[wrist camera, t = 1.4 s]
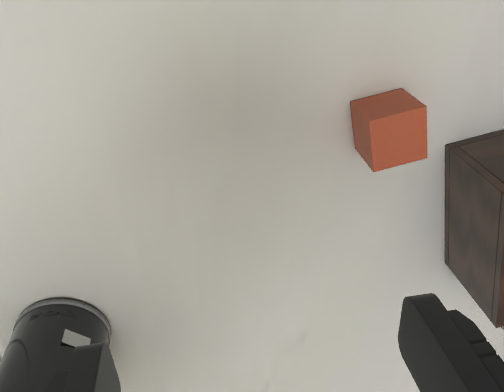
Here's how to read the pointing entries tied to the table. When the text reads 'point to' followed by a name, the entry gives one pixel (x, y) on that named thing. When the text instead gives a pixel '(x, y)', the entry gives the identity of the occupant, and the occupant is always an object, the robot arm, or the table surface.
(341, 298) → the table surface
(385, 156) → the block
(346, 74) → the table surface
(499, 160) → the box
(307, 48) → the table surface
